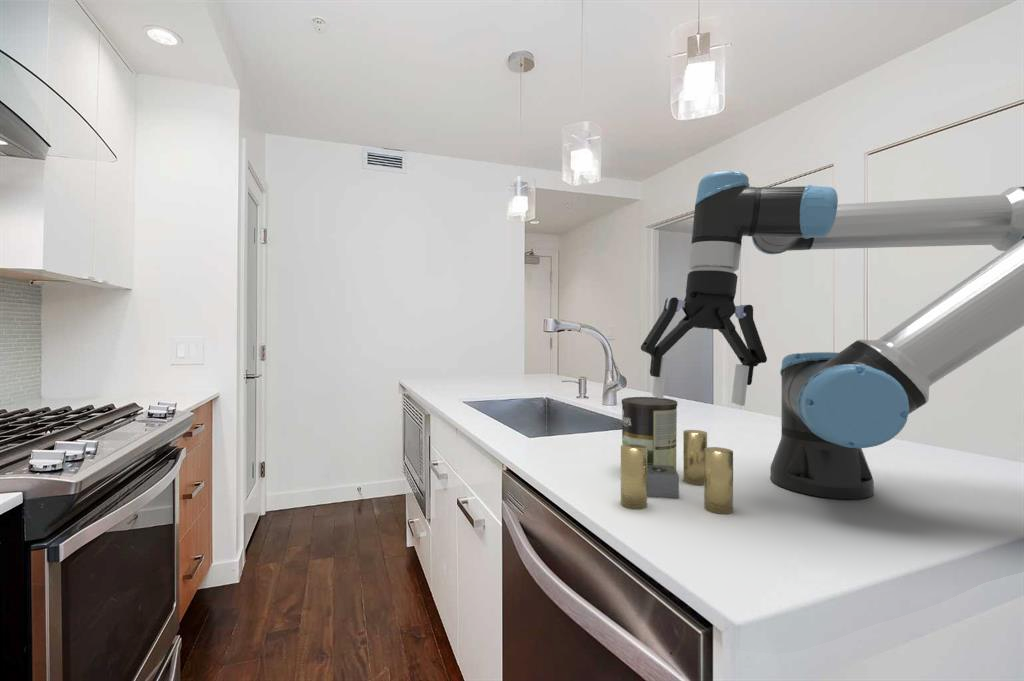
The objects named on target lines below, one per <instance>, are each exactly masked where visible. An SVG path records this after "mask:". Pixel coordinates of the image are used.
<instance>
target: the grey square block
mask: <svg viewBox="0 0 1024 681" xmlns="http://www.w3.org/2000/svg"><path fill="white" fill-rule="evenodd" d="M679 477H680V474H679V473H678V471H677V468H676V469H675V467H674V466H668V465H647V498H665V499H677V498H678V499H680V497H679V496H680V490H679V489H680V484H679V483H680V478H679Z"/></svg>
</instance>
